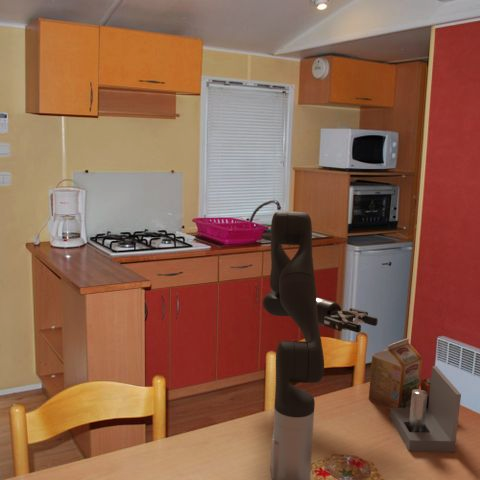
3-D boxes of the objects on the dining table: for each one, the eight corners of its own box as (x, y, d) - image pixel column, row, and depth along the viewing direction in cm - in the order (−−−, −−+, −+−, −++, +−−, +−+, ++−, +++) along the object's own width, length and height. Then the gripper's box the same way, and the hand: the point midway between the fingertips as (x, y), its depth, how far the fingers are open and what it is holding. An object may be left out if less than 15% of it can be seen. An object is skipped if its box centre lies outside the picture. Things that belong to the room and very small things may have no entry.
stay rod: (410, 440, 159) (414, 395, 156) (405, 433, 163) (410, 389, 160) (424, 441, 159) (429, 396, 157) (420, 433, 163) (424, 389, 160)
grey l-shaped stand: (408, 450, 154) (414, 393, 151) (389, 417, 172) (394, 365, 169) (454, 451, 154) (461, 394, 151) (431, 418, 172) (436, 366, 169)
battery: (446, 413, 175) (449, 381, 174) (424, 414, 174) (428, 382, 172) (438, 406, 180) (442, 375, 178) (417, 407, 178) (421, 376, 177)
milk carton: (397, 411, 175) (403, 350, 172) (368, 398, 183) (373, 340, 179) (417, 402, 182) (423, 343, 178) (388, 389, 190) (393, 333, 186)
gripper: (307, 304, 170) (355, 317, 159) (335, 295, 180) (383, 307, 169) (305, 329, 171) (353, 344, 160) (334, 318, 181) (381, 332, 171)
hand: (368, 325), depth 165 cm, fingers open, 8 cm apart
